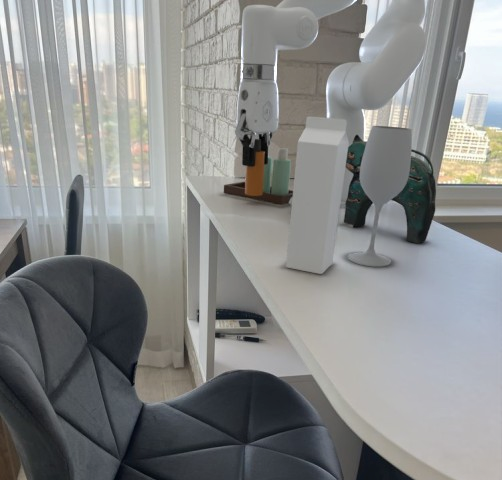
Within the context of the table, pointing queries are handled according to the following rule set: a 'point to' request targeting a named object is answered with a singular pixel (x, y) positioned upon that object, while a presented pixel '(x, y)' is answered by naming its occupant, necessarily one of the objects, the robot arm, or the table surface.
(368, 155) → the wineglass
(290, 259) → the milk
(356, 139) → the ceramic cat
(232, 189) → the tray
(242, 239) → the table surface
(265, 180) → the bottle
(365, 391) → the table surface
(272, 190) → the bottle
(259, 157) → the amber bottle
